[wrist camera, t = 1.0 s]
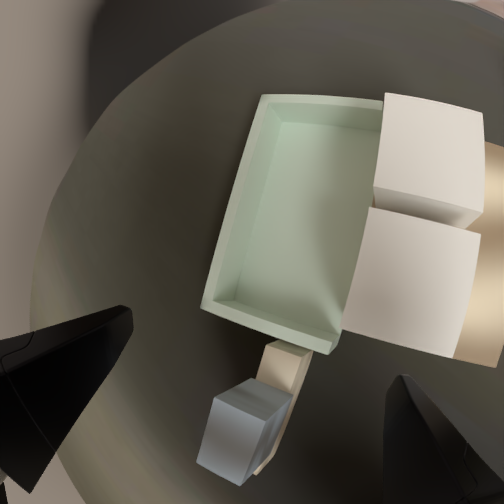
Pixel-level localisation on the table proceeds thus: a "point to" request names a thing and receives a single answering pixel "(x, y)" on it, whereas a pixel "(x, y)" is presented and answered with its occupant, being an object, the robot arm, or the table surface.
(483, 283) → the tan tray
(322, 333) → the tray
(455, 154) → the tile
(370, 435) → the table surface
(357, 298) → the tile
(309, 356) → the grey and tan block
